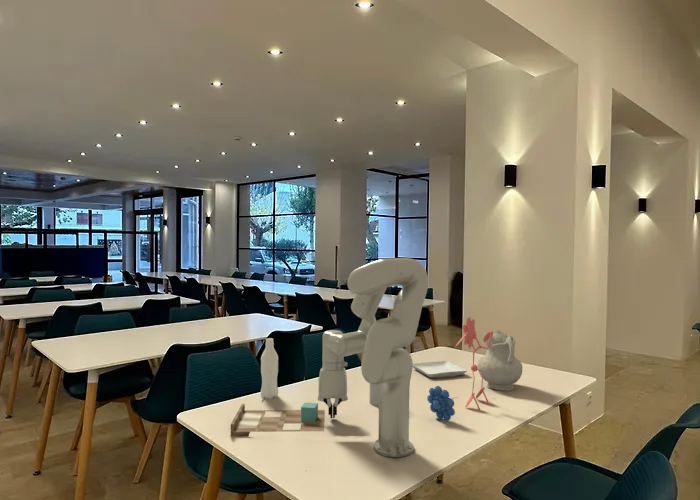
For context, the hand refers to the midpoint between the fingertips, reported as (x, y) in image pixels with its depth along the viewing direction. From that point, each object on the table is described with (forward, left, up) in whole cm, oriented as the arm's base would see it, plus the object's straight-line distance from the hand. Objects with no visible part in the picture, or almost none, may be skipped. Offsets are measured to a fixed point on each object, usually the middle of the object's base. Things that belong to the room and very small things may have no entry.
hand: (332, 416), depth 168 cm
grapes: (+3, -39, -3) cm, 39 cm away
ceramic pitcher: (+41, -76, -3) cm, 86 cm away
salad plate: (+66, -53, -3) cm, 85 cm away
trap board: (0, +18, -3) cm, 19 cm away
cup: (+22, -19, -3) cm, 29 cm away
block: (+1, +8, -1) cm, 8 cm away
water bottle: (+27, +26, -3) cm, 38 cm away
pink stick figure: (+21, -55, -3) cm, 59 cm away
